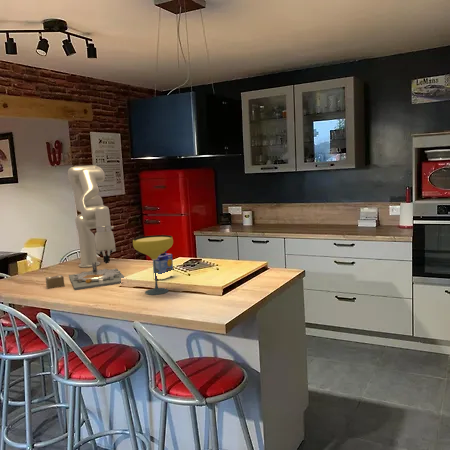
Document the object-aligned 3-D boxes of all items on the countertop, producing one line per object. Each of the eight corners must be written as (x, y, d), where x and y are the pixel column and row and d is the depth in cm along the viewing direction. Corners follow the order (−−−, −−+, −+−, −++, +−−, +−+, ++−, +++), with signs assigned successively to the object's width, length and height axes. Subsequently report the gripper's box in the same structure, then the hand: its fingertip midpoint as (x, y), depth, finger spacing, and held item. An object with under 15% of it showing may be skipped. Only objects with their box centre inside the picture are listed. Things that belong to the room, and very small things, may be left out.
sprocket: (71, 275, 253) (70, 263, 252) (116, 269, 262) (115, 258, 261) (75, 285, 231) (74, 272, 230) (124, 278, 240) (123, 265, 239)
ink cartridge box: (161, 281, 237) (159, 252, 235) (153, 279, 240) (151, 252, 238) (174, 276, 245) (172, 249, 243) (166, 275, 248) (164, 248, 246)
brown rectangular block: (46, 287, 238) (45, 277, 237) (63, 284, 241) (61, 274, 240) (47, 289, 233) (46, 278, 232) (64, 286, 237) (63, 276, 236)
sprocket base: (69, 277, 257) (68, 271, 256) (116, 270, 266) (116, 265, 266) (74, 290, 227) (74, 283, 227) (128, 282, 237) (127, 276, 237)
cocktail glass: (133, 290, 222) (129, 237, 218) (171, 284, 228) (167, 233, 225) (141, 299, 205) (136, 243, 202) (181, 293, 211) (177, 238, 208)
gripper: (116, 227, 259) (119, 260, 261) (88, 230, 253) (91, 263, 255) (118, 228, 252) (122, 262, 254) (90, 231, 247) (93, 266, 249)
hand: (107, 262), depth 255 cm, fingers closed
